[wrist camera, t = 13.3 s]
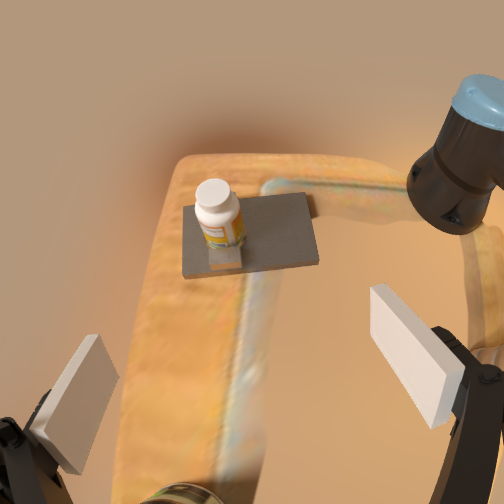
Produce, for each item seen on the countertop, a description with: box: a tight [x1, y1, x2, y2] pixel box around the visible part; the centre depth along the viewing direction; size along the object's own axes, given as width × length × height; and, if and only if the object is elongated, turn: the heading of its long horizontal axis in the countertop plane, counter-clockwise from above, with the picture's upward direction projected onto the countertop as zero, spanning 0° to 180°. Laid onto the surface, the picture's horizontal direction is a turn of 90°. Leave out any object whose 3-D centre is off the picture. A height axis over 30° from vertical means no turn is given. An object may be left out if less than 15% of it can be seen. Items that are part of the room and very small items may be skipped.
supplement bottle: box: [195, 178, 244, 249], centre depth 39 cm, size 5×5×10 cm
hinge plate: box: [182, 192, 319, 279], centre depth 43 cm, size 18×11×4 cm, turn 95°
